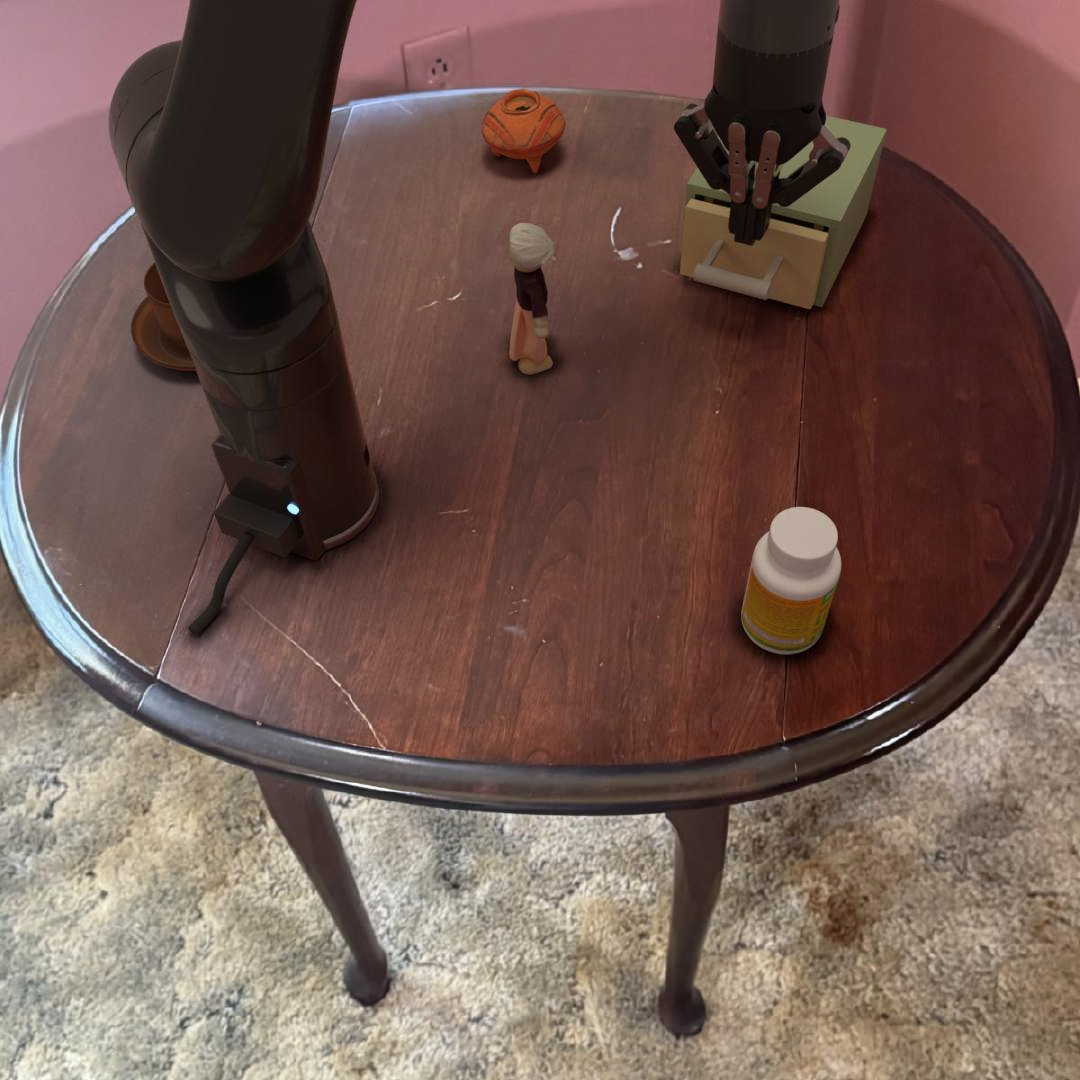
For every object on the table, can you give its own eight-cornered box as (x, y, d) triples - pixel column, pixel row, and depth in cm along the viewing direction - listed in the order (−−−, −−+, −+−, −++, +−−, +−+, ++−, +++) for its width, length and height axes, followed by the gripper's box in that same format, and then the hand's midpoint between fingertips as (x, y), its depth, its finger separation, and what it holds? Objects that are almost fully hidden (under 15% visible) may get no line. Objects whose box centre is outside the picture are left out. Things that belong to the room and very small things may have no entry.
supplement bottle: (820, 663, 71) (849, 574, 64) (736, 650, 72) (754, 561, 65) (824, 595, 75) (852, 503, 67) (744, 583, 75) (762, 491, 68)
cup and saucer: (109, 338, 93) (83, 280, 88) (224, 268, 98) (205, 209, 93) (196, 406, 88) (173, 348, 83) (312, 328, 93) (297, 268, 88)
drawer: (791, 347, 88) (805, 279, 83) (657, 309, 91) (662, 241, 86) (853, 223, 98) (868, 154, 92) (729, 192, 101) (737, 124, 95)
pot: (585, 162, 105) (570, 104, 100) (512, 199, 105) (493, 143, 99) (552, 117, 110) (536, 59, 104) (482, 153, 110) (461, 96, 104)
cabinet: (821, 307, 92) (840, 221, 85) (679, 269, 96) (686, 183, 89) (866, 215, 100) (887, 128, 93) (732, 182, 103) (743, 96, 96)
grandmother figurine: (494, 335, 91) (483, 205, 81) (538, 323, 92) (532, 192, 82) (527, 397, 87) (520, 267, 77) (573, 384, 88) (571, 253, 78)
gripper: (660, 27, 72) (649, 245, 86) (860, 68, 68) (815, 289, 82) (701, -25, 76) (684, 191, 90) (892, 10, 72) (844, 231, 86)
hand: (747, 238), depth 86 cm, fingers closed
